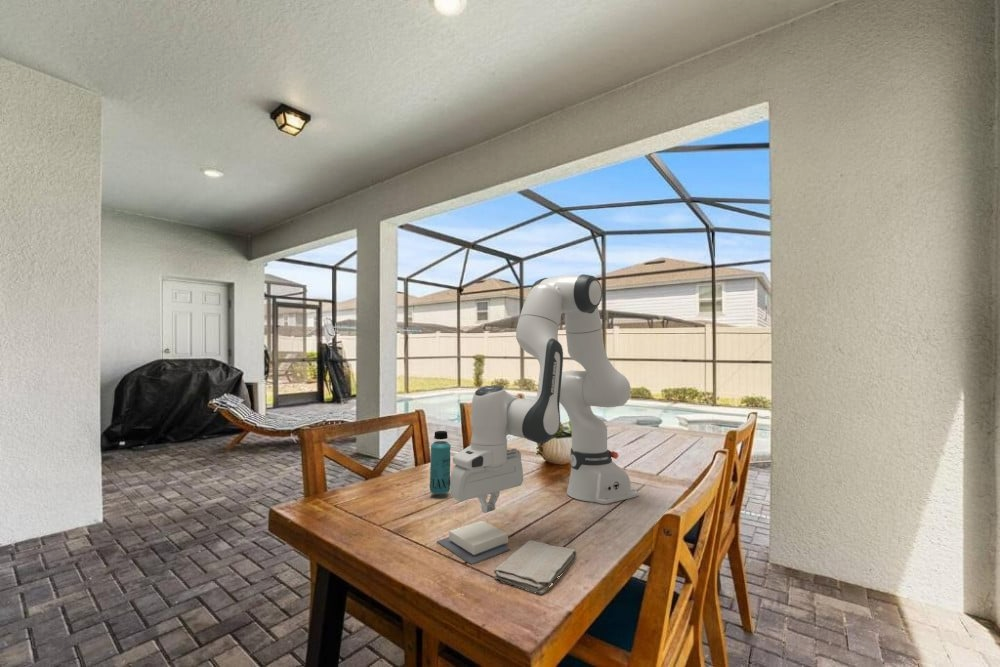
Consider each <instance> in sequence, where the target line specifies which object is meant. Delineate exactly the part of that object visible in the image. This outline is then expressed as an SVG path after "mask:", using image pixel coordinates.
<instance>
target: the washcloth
mask: <svg viewBox="0 0 1000 667" xmlns="http://www.w3.org/2000/svg"><path fill="white" fill-rule="evenodd" d="M576 558H577V550H576V549H573V548H569V547H563V546H555V545H549V544H548V543H546V542H540V541H537V540H528V541H527V542H525V543H524V544H523V545H522V546H520V547H519V548H518V549H517V550H515V551H514V552H513V553H512V554H511V555H509V556H508V557H507V559H505V560H504V561H503V562H501V563H500V564H499V565H497V566H496V567H495V569H494V570H493V573H494V574H495V577H493V580H494V579H496V580H500V581H502V582H504V583H507V584H510V585H514V586H516V587H515V588H517V587H520V588H519V589H521V588H523V589H527V590H529V591H533V592H536V593H539V594H538V595H542V594H546V592H547V591H546V590H547V589H548V588H549V586H550V585H551V583H553V584H554V583H555V582H556V581H557V580H558V578H559V577H558V576H560V575H561V574H562V573H564V574H565V573H566V572H567V570H568V569H569V568H570V567H571V565H572V564H573V563H574V562H575V560H576ZM573 561H574V562H573ZM567 568H568V569H567ZM566 569H567V570H566ZM557 577H558V578H557ZM559 579H560V578H559ZM500 581H499V582H500ZM558 581H559V580H558ZM558 581H557V582H558ZM502 582H501V583H502ZM557 582H556V583H557ZM504 583H503V584H504ZM556 583H555V584H556ZM507 584H506V585H507ZM555 584H554V585H555ZM510 585H509V586H510ZM523 589H522V590H523ZM548 590H549V589H548ZM529 591H528V592H529ZM536 593H535V594H536Z"/></svg>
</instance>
